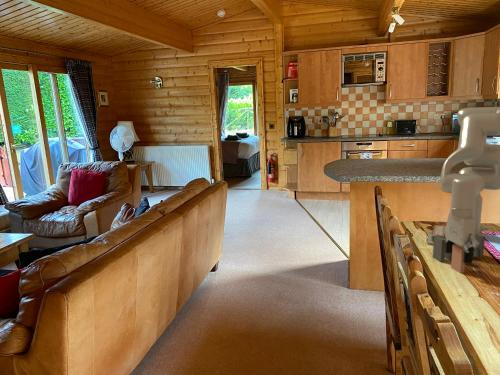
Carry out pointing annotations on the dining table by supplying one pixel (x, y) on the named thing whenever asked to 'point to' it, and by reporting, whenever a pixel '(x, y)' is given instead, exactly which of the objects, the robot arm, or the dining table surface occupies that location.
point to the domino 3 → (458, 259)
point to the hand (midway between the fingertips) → (458, 257)
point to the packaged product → (435, 234)
